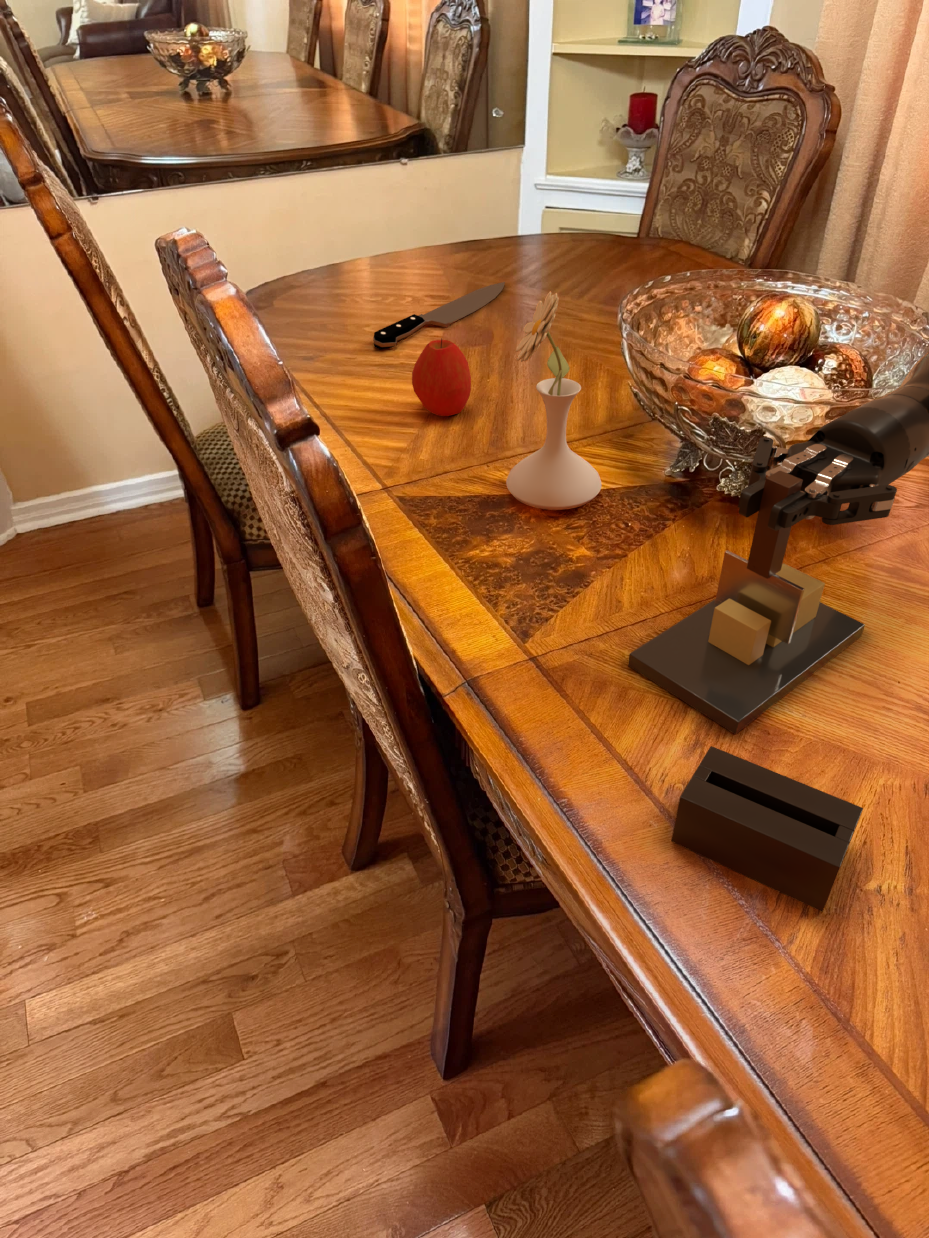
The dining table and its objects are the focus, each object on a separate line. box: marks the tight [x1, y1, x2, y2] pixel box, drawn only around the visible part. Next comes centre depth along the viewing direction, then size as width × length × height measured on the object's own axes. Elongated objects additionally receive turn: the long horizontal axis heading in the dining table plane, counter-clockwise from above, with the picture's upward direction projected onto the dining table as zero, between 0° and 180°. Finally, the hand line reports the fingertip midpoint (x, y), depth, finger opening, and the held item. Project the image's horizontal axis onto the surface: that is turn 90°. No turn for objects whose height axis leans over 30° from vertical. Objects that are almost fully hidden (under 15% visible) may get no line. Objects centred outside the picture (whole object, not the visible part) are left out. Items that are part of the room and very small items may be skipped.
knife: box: [714, 471, 804, 644], centre depth 77 cm, size 2×8×15 cm, turn 41°
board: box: [627, 598, 866, 735], centre depth 83 cm, size 20×12×2 cm, turn 130°
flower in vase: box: [505, 290, 603, 511], centre depth 99 cm, size 13×11×25 cm
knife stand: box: [670, 745, 864, 913], centre depth 64 cm, size 6×11×5 cm, turn 56°
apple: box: [411, 338, 472, 417], centre depth 124 cm, size 8×8×11 cm
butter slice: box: [708, 599, 771, 665], centre depth 81 cm, size 2×4×4 cm, turn 40°
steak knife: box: [372, 281, 506, 350], centre depth 158 cm, size 5×41×2 cm, turn 147°
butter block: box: [766, 562, 826, 647], centre depth 84 cm, size 7×4×4 cm, turn 131°
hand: (759, 512), depth 72 cm, fingers closed on knife, 2 cm apart
